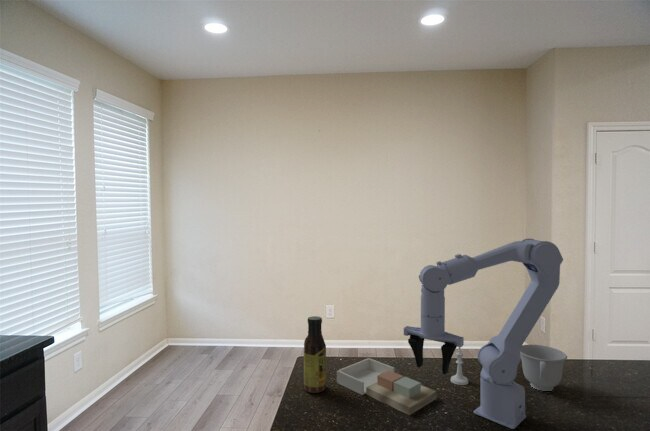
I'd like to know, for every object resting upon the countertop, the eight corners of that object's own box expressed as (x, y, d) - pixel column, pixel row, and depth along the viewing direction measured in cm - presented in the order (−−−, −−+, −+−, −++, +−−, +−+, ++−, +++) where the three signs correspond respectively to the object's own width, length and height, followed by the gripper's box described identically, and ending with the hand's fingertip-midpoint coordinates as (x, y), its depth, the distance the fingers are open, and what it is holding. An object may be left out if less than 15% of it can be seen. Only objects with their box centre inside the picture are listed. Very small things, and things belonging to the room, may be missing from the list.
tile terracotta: (403, 385, 102) (403, 375, 102) (392, 390, 99) (392, 381, 99) (388, 379, 106) (388, 370, 106) (377, 384, 103) (377, 375, 103)
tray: (394, 379, 110) (394, 367, 110) (362, 395, 101) (362, 382, 101) (368, 369, 117) (368, 357, 117) (336, 382, 108) (336, 370, 108)
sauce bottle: (323, 395, 101) (323, 322, 101) (301, 393, 102) (300, 320, 102) (328, 384, 107) (327, 315, 107) (307, 382, 108) (306, 314, 108)
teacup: (517, 396, 100) (517, 359, 99) (517, 374, 113) (517, 341, 113) (571, 407, 94) (571, 367, 94) (565, 383, 107) (565, 348, 107)
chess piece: (465, 377, 111) (465, 344, 111) (470, 385, 106) (470, 350, 106) (448, 377, 111) (448, 343, 111) (452, 384, 106) (452, 350, 106)
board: (436, 398, 99) (436, 391, 99) (409, 415, 91) (409, 407, 91) (393, 381, 109) (393, 374, 109) (366, 394, 101) (366, 387, 101)
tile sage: (420, 392, 98) (420, 382, 98) (409, 398, 95) (409, 388, 95) (404, 385, 102) (404, 376, 102) (393, 391, 98) (393, 382, 98)
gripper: (467, 315, 91) (467, 371, 91) (411, 306, 100) (411, 357, 100) (458, 322, 86) (458, 381, 86) (400, 312, 94) (399, 366, 94)
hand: (432, 369), depth 92 cm, fingers open, 6 cm apart
